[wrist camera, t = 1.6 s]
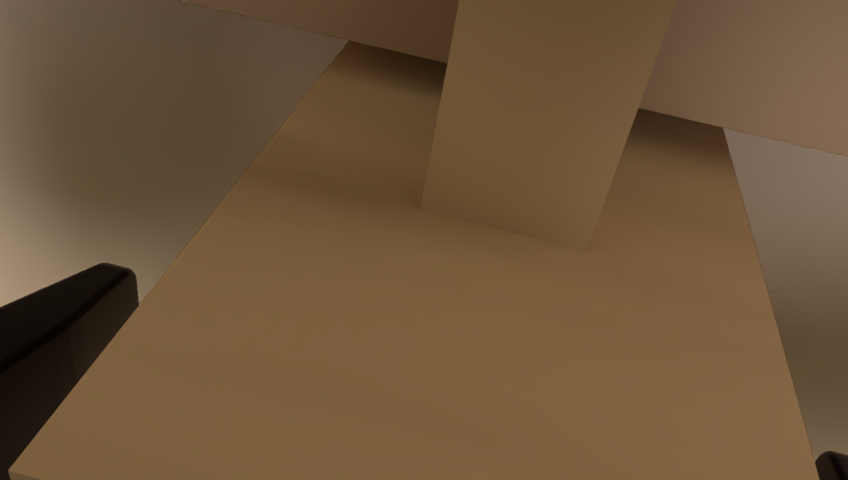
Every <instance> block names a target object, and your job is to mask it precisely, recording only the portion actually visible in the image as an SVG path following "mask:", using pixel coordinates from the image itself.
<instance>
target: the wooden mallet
mask: <svg viewBox="0 0 848 480" xmlns="http://www.w3.org/2000/svg"><path fill="white" fill-rule="evenodd" d="M676 3H677V0H459V5H458V10H457V16H456V21H455V26H454V32H453V37H452V42H451V47H450V53H449V58H448V63H444V62H440V61H436V60H431V59H427V58H423V57H418V56H414V55H410V54H406V53H401V52H397V51H393V50H389V49H384V48H380V47H376V46H371V45H367V44H363V43H359V42H354V41H350V40H349V42H348V43H347V44H346V45H345V47H344V48H343V49H342V50H341V52H340V53H339V54H338V55H337V57H336V58H335V59H334V60H333V62H332V63H331V64H330V65H329V67H328V68H327V69H326V71H325V72H324V73H323V74H322V76H321V77H320V78H319V79H318V81H317V82H316V83H315V84H314V86H313V87H312V88H311V89H310V91H309V92H308V93H307V94H306V96H305V97H304V98H303V100H302V101H301V102H300V103H299V105H298V106H297V107H296V108H295V110H294V111H293V112H292V113H291V115H290V116H289V117H288V118H287V120H286V121H285V122H284V123H283V125H282V126H281V127H280V128H279V130H278V131H277V132H276V134H275V135H274V136H273V137H272V139H271V140H270V141H269V142H268V144H267V145H266V146H265V147H264V149H263V150H262V151H261V152H260V154H259V155H258V156H257V157H256V159H255V160H254V161H253V163H252V164H251V165H250V166H249V168H248V169H247V170H246V171H245V173H244V174H243V175H242V176H241V178H240V179H239V180H238V181H237V183H236V184H235V185H234V186H233V188H232V189H231V190H230V192H229V193H228V194H227V195H226V197H225V198H224V199H223V200H222V202H221V203H220V204H219V205H218V207H217V208H216V209H215V210H214V212H213V213H212V214H211V215H210V217H209V218H208V219H207V220H206V222H205V223H204V224H203V226H202V227H201V228H200V229H199V231H198V232H197V233H196V234H195V236H194V237H193V238H192V239H191V241H190V242H189V243H188V244H187V246H186V247H185V248H184V249H183V251H182V252H181V253H180V255H179V256H178V257H177V258H176V260H175V261H174V262H173V263H172V265H171V266H170V267H169V268H168V270H167V271H166V272H165V273H164V275H163V276H162V277H161V278H160V280H159V281H158V282H157V284H156V285H155V286H154V287H153V289H152V290H151V291H150V292H149V294H148V295H147V296H146V297H145V299H144V300H143V301H142V302H141V304H140V305H139V306H138V307H137V309H136V310H135V311H134V312H133V314H132V315H131V316H130V318H129V319H128V320H127V321H126V323H125V324H124V325H123V326H122V328H121V329H120V330H119V331H118V333H117V334H116V335H115V336H114V338H113V339H112V340H111V341H110V343H109V344H108V345H107V347H106V348H105V349H104V350H103V352H102V353H101V354H100V355H99V357H98V358H97V359H96V360H95V362H94V363H93V364H92V365H91V367H90V368H89V369H88V370H87V372H86V373H85V374H84V376H83V377H82V378H81V379H80V381H79V382H78V383H77V384H76V386H75V387H74V388H73V389H72V391H71V392H70V393H69V394H68V396H67V397H66V398H65V399H64V401H63V402H62V403H61V404H60V406H59V407H58V408H57V410H56V411H55V412H54V413H53V415H52V416H51V417H50V418H49V420H48V421H47V422H46V423H45V425H44V426H43V427H42V428H41V430H40V431H39V432H38V433H37V435H36V436H35V437H34V439H33V440H32V441H31V442H30V444H29V445H28V446H27V447H26V449H25V450H24V451H23V452H22V454H21V455H20V456H19V457H18V459H17V460H16V461H15V462H14V464H13V465H12V466H11V467H10V469H9V470H8V472H9V475H10V479H11V480H820V479H819V476H818V472H817V469H816V465H815V461H814V458H813V454H812V450H811V447H810V443H809V440H808V436H807V432H806V429H805V425H804V421H803V418H802V414H801V410H800V407H799V403H798V400H797V396H796V392H795V389H794V385H793V381H792V378H791V374H790V371H789V367H788V363H787V360H786V356H785V352H784V349H783V345H782V341H781V338H780V334H779V331H778V327H777V323H776V320H775V316H774V312H773V309H772V305H771V302H770V298H769V294H768V291H767V287H766V283H765V280H764V276H763V272H762V269H761V265H760V262H759V258H758V254H757V251H756V247H755V243H754V240H753V236H752V233H751V229H750V225H749V222H748V218H747V214H746V211H745V207H744V203H743V200H742V196H741V193H740V189H739V185H738V182H737V178H736V174H735V171H734V167H733V164H732V160H731V156H730V153H729V149H728V145H727V142H726V138H725V134H724V131H723V127H718V126H714V125H710V124H706V123H701V122H697V121H693V120H688V119H684V118H680V117H676V116H671V115H667V114H663V113H658V112H654V111H650V110H646V109H641V108H639V105H640V102H641V100H642V97H643V94H644V91H645V88H646V86H647V83H648V80H649V77H650V75H651V72H652V69H653V66H654V64H655V61H656V58H657V55H658V53H659V50H660V47H661V44H662V42H663V39H664V36H665V33H666V31H667V28H668V25H669V22H670V20H671V17H672V14H673V11H674V8H675V6H676Z"/></svg>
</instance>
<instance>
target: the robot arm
mask: <svg viewBox="0 0 848 480" xmlns="http://www.w3.org/2000/svg"><path fill="white" fill-rule="evenodd" d="M138 306H139V301H138V290H137V280H136V275H135V273H134V272H133V271H132V270H131V269H129V268H125V267H121V266H117V265H113V264H110V263H100V264H97V265H95V266H93V267H90V268H88V269H86V270H84V271H81V272H79V273H77V274H75V275H72V276H70V277H68V278H65V279H63V280H61V281H59V282H56V283H54V284H52V285H50V286H47V287H45V288H43V289H41V290H38V291H36V292H34V293H31V294H29V295H27V296H25V297H22V298H20V299H18V300H16V301H13V302H11V303H9V304H7V305H4V306H2V307H0V480H11V479H10V475H9V472H8V470H9V469H10V467H11V466H12V465H13V464H14V462H15V461H16V460H17V459H18V457H19V456H20V455H21V454H22V452H23V451H24V450H25V449H26V447H27V446H28V445H29V444H30V442H31V441H32V440H33V439H34V437H35V436H36V435H37V433H38V432H39V431H40V430H41V428H42V427H43V426H44V425H45V423H46V422H47V421H48V420H49V418H50V417H51V416H52V415H53V413H54V412H55V411H56V410H57V408H58V407H59V406H60V404H61V403H62V402H63V401H64V399H65V398H66V397H67V396H68V394H69V393H70V392H71V391H72V389H73V388H74V387H75V386H76V384H77V383H78V382H79V381H80V379H81V378H82V377H83V376H84V374H85V373H86V372H87V370H88V369H89V368H90V367H91V365H92V364H93V363H94V362H95V360H96V359H97V358H98V357H99V355H100V354H101V353H102V352H103V350H104V349H105V348H106V347H107V345H108V344H109V343H110V341H111V340H112V339H113V338H114V336H115V335H116V334H117V333H118V331H119V330H120V329H121V328H122V326H123V325H124V324H125V323H126V321H127V320H128V319H129V318H130V316H131V315H132V314H133V312H134V311H135V310H136V309H137V307H138ZM815 465H816V469H817V472H818V476H819V479H820V480H848V455H845V454H841V453H837V452H833V451H826V452H824V453H822V454H821V455H820V456H819V457H818V458H817V460H816V461H815Z"/></svg>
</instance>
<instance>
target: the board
mask: <svg viewBox="0 0 848 480" xmlns="http://www.w3.org/2000/svg"><path fill="white" fill-rule="evenodd" d="M179 1H183V2H187V3H191V4H196V5H200V6H204V7H209V8H213V9H217V10H221V11H226V12H230V13H234V14H239V15H243V16H247V17H251V18H256V19H260V20H264V21H269V22H273V23H277V24H281V25H286V26H290V27H294V28H299V29H303V30H307V31H311V32H316V33H320V34H324V35H329V36H333V37H337V38H341V39H346V40H350V41H354V42H359V43H363V44H367V45H371V46H376V47H380V48H384V49H389V50H393V51H397V52H401V53H406V54H410V55H414V56H418V57H423V58H427V59H431V60H436V61H440V62H444V63H448V58H449V53H450V47H451V42H452V37H453V32H454V26H455V21H456V16H457V10H458V5H459V0H179ZM639 108H641V109H646V110H650V111H654V112H658V113H663V114H667V115H671V116H676V117H680V118H684V119H688V120H693V121H697V122H701V123H706V124H710V125H714V126H718V127H723V128H727V129H731V130H736V131H740V132H744V133H748V134H753V135H757V136H761V137H766V138H770V139H774V140H778V141H783V142H787V143H791V144H796V145H800V146H804V147H808V148H813V149H817V150H821V151H826V152H830V153H834V154H838V155H843V156H847V157H848V0H677V3H676V6H675V8H674V11H673V14H672V17H671V20H670V22H669V25H668V28H667V31H666V33H665V36H664V39H663V42H662V44H661V47H660V50H659V53H658V55H657V58H656V61H655V64H654V66H653V69H652V72H651V75H650V77H649V80H648V83H647V86H646V88H645V91H644V94H643V97H642V100H641V102H640V105H639Z"/></svg>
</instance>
